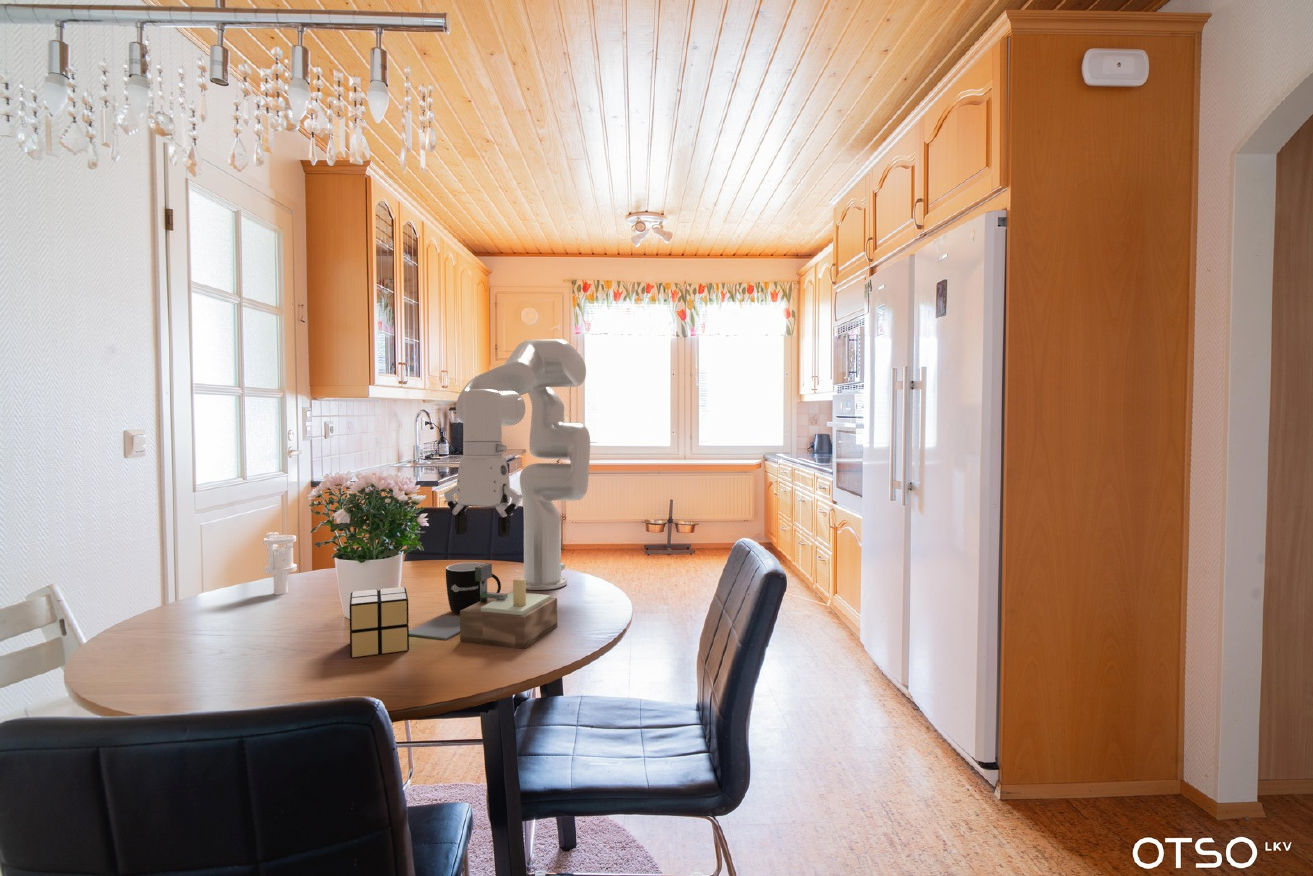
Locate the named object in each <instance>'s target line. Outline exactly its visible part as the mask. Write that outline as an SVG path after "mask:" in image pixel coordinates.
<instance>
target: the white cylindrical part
mask: <svg viewBox="0 0 1313 876" xmlns="http://www.w3.org/2000/svg"><path fill="white" fill-rule="evenodd" d="M295 542H297V536H296V535H293V534H292V535H291V534H281V535H280V532H277V531H276V532H275V531H274V532H270V531H269V532H266V533H265V537H264V538H263V544H264V545H266V546H265V548H267V559H266V560H267V562H266V563H267V566H265V567H264V568H263V573H264V574H266V575H273V595H277V596H278V595H279V596H281V595H285V594H288V593H289V586H288V585H289V583H288V582H289V581H288V580H289V577H288V576H289V575H288V573H292V572H296V571H297V569H298V568H297V566H298V565H297V564H296V563H294V543H295ZM280 545H282V547H281V548H280Z"/></svg>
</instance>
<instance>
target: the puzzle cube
mask: <svg viewBox="0 0 1313 876" xmlns="http://www.w3.org/2000/svg"><path fill="white" fill-rule="evenodd" d="M409 619H410V618H409V596H408V591H407V588H406V587H405V586H399V587H398V586H397V587H389V588H388V587H387V588H380V589H365V590H355V591H352V592H351V593H350V599H349V654H350V658H351V659H357V658H365V657H371V656H373V657H374V656H379V655H380V654H381V655H388V654H397V653H404V652H408V651H409V650H410V636H409V630H410V625H409V622H410V621H409Z"/></svg>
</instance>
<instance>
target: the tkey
mask: <svg viewBox="0 0 1313 876" xmlns="http://www.w3.org/2000/svg"><path fill="white" fill-rule="evenodd" d="M492 574H493V564H492V562H491V563H490V562H489V563H488V562H485V563H484V564H482V565H480V566H477V567H475V581H480V602H487V598H494V599H506V598H507V594H508V593H501V592H500V593H496V592H492V591H491V592H490V591H488V579H491V578H493V577H492Z"/></svg>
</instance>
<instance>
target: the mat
mask: <svg viewBox="0 0 1313 876" xmlns="http://www.w3.org/2000/svg"><path fill="white" fill-rule="evenodd" d="M457 635H460V616H456V615H447V614H441V615H440V616H437V617H435V618H433V619H431V620H429V621H426V622H425V623H422V624H420V625H418V626H416V627H414V628H411V629H409V637H418V638H424V639H425V638H426V639H427V638H428V639H434V640H435V639H436V640H444V641H448V640H449V639H452V638H453V637H456V636H457Z"/></svg>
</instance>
